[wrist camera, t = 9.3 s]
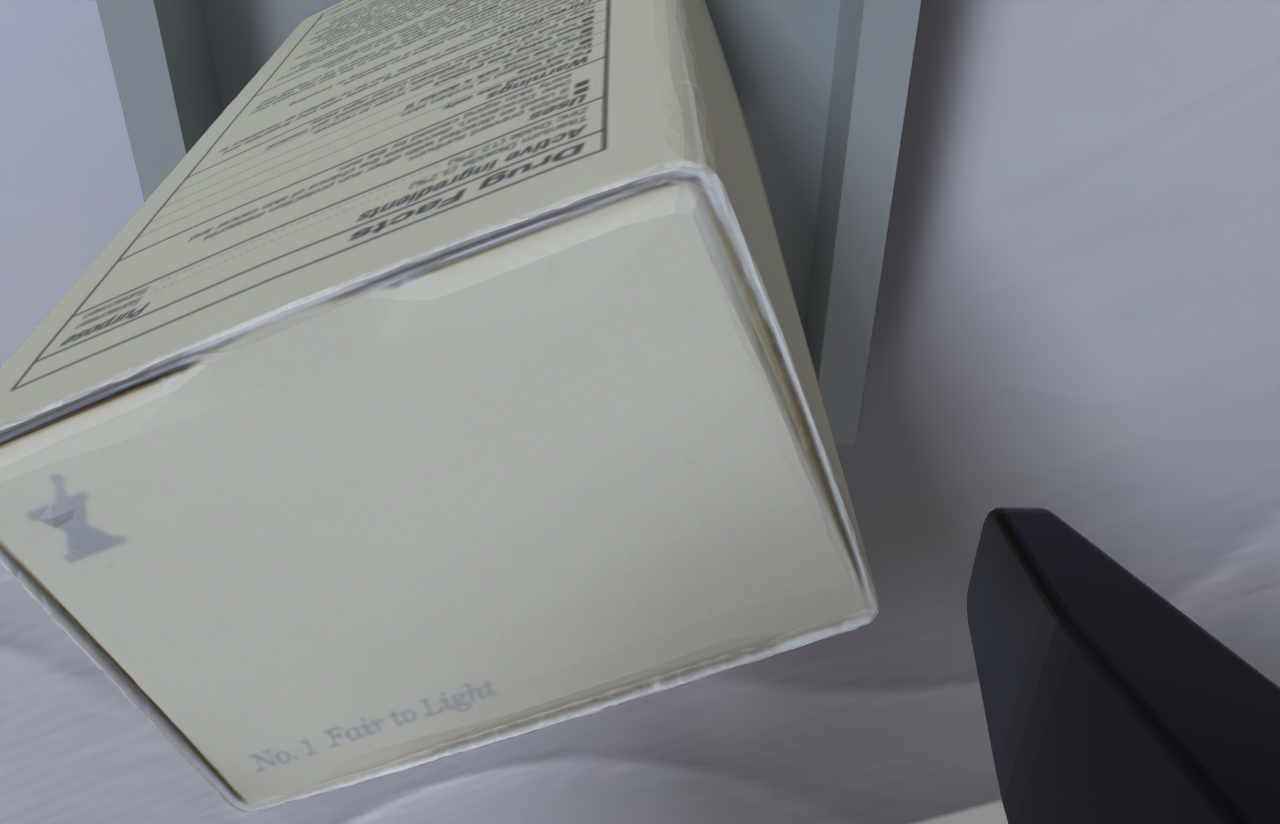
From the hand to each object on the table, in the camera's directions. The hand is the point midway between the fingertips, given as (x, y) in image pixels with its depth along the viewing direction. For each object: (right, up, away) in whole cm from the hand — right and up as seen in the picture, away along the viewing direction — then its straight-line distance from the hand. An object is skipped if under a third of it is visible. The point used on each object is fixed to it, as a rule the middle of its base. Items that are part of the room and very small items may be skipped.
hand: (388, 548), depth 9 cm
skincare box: (0, +7, +10) cm, 12 cm away
